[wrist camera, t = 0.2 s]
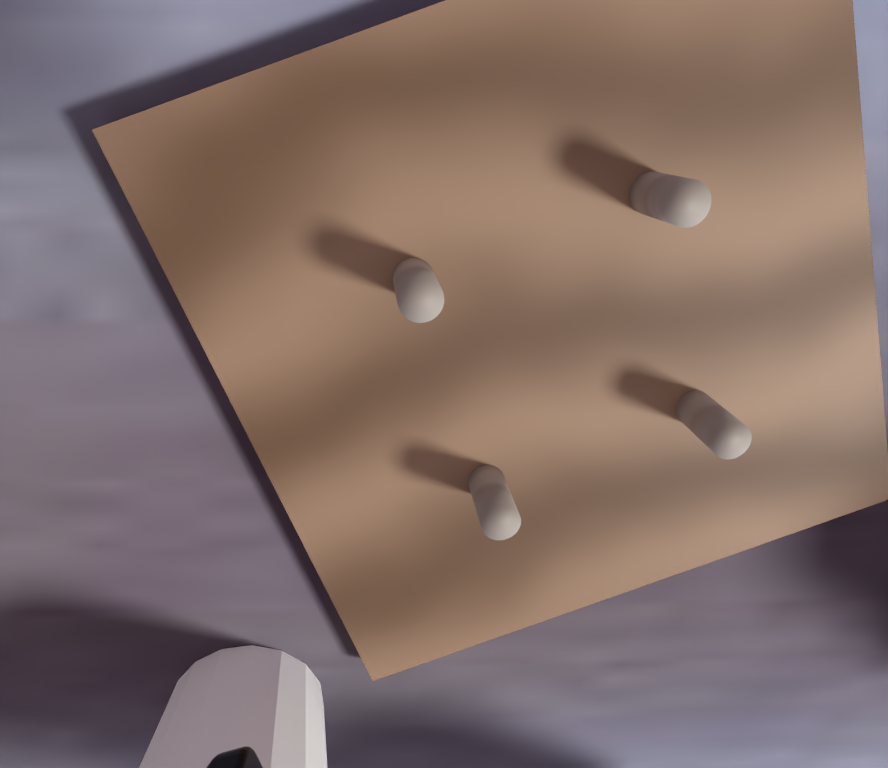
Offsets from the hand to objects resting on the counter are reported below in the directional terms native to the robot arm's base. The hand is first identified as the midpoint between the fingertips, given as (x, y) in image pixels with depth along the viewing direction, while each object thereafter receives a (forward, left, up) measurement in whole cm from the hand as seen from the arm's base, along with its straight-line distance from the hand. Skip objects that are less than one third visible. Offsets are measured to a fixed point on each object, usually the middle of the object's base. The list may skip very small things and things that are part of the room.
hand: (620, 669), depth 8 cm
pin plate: (-1, -3, -14) cm, 15 cm away
